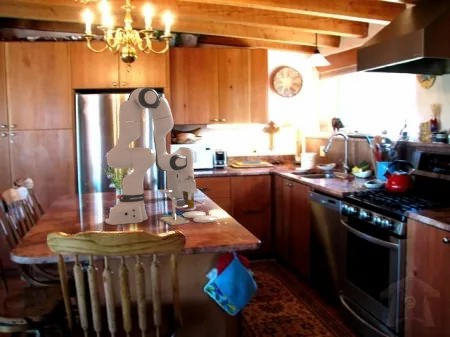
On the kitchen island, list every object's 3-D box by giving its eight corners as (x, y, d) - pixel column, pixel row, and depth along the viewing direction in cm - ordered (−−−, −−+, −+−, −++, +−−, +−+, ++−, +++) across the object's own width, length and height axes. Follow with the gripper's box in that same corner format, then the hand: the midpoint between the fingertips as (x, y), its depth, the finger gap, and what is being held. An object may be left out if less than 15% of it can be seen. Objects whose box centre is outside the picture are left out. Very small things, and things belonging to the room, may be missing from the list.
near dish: (200, 223, 236) (200, 221, 236) (189, 219, 248) (189, 217, 248) (222, 220, 243) (222, 218, 243) (211, 216, 254) (210, 214, 254)
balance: (175, 227, 230) (174, 196, 229) (156, 218, 253) (155, 190, 252) (193, 224, 235) (192, 194, 234) (173, 215, 258) (172, 188, 256)
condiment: (196, 208, 268) (196, 187, 267) (183, 209, 263) (182, 188, 263) (191, 207, 274) (190, 186, 274) (178, 208, 270) (177, 188, 269)
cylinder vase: (165, 197, 323) (164, 161, 320) (182, 195, 328) (181, 160, 326) (171, 199, 312) (169, 162, 309) (188, 198, 317) (187, 161, 314)
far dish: (188, 218, 249) (188, 217, 249) (178, 214, 260) (178, 213, 260) (209, 215, 255) (209, 214, 255) (199, 212, 267) (199, 210, 267)
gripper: (198, 176, 260) (199, 200, 261) (184, 174, 278) (185, 197, 279) (188, 176, 257) (188, 201, 258) (174, 174, 275) (175, 197, 276)
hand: (187, 199), depth 268 cm, fingers closed on condiment, 6 cm apart
